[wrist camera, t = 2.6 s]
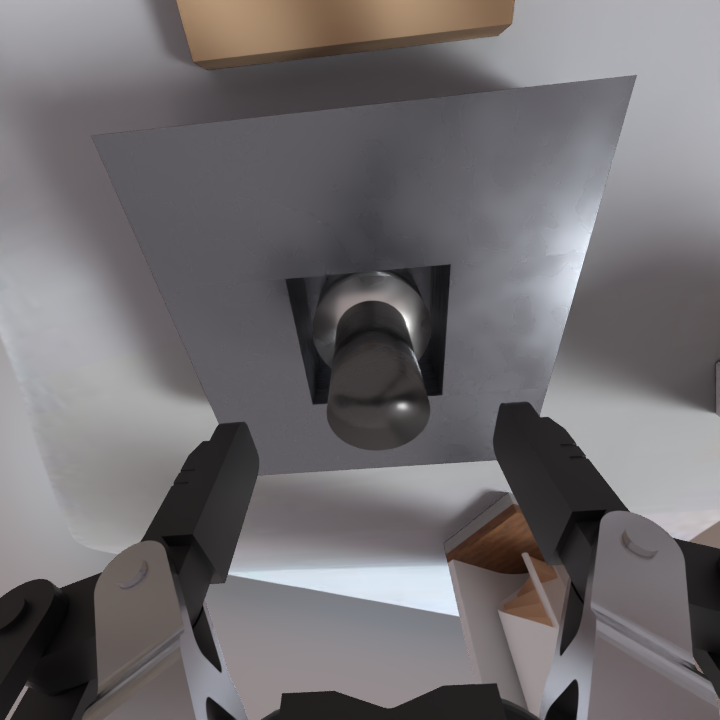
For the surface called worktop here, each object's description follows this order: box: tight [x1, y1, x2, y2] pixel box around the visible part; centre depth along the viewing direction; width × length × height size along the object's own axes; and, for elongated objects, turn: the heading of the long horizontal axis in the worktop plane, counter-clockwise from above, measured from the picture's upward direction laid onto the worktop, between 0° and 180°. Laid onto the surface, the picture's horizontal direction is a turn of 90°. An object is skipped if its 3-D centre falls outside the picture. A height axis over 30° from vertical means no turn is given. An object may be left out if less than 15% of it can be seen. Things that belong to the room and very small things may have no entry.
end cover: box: [312, 269, 431, 451], centre depth 15 cm, size 6×6×9 cm
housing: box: [92, 75, 637, 475], centre depth 18 cm, size 18×18×6 cm
